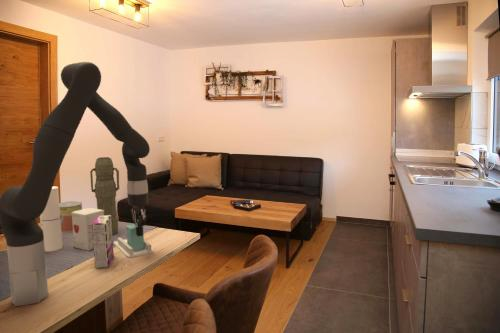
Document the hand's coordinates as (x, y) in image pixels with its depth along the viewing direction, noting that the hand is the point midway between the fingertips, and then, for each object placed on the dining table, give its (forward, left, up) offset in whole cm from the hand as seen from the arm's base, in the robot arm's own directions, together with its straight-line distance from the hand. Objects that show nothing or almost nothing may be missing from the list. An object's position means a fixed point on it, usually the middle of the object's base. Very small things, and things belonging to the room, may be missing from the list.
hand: (139, 235), depth 142 cm
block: (+5, +1, -6) cm, 8 cm away
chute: (+9, +3, -8) cm, 12 cm away
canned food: (+47, +29, -8) cm, 56 cm away
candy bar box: (-3, +13, -8) cm, 16 cm away
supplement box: (+18, +19, -8) cm, 27 cm away
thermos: (+32, +12, -8) cm, 35 cm away
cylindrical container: (+20, +33, -8) cm, 39 cm away
